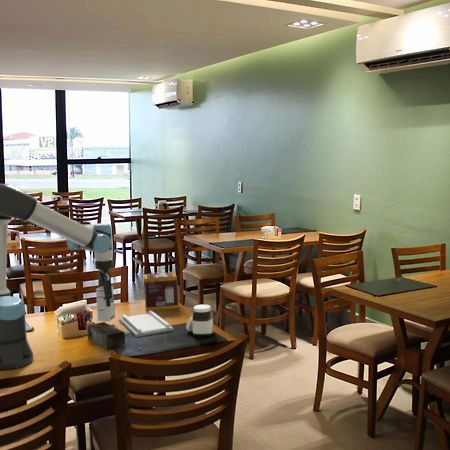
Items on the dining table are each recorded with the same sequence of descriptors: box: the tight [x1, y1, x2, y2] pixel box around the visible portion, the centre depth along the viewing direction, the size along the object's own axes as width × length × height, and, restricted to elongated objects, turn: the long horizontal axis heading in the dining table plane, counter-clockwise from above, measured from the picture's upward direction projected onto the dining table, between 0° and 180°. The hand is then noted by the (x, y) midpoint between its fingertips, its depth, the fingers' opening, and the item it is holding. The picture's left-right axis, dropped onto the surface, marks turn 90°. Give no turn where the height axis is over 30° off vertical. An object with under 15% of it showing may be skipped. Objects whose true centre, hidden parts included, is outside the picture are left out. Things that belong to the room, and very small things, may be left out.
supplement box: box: [143, 271, 179, 312], centre depth 273 cm, size 10×15×16 cm
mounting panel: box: [118, 310, 174, 338], centre depth 244 cm, size 26×16×3 cm, turn 26°
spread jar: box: [185, 304, 214, 338], centre depth 231 cm, size 12×11×12 cm
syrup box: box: [95, 285, 116, 322], centre depth 246 cm, size 6×6×14 cm
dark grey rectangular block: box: [87, 321, 126, 351], centre depth 224 cm, size 8×19×7 cm, turn 36°
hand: (105, 311), depth 246 cm, fingers closed on syrup box, 8 cm apart
